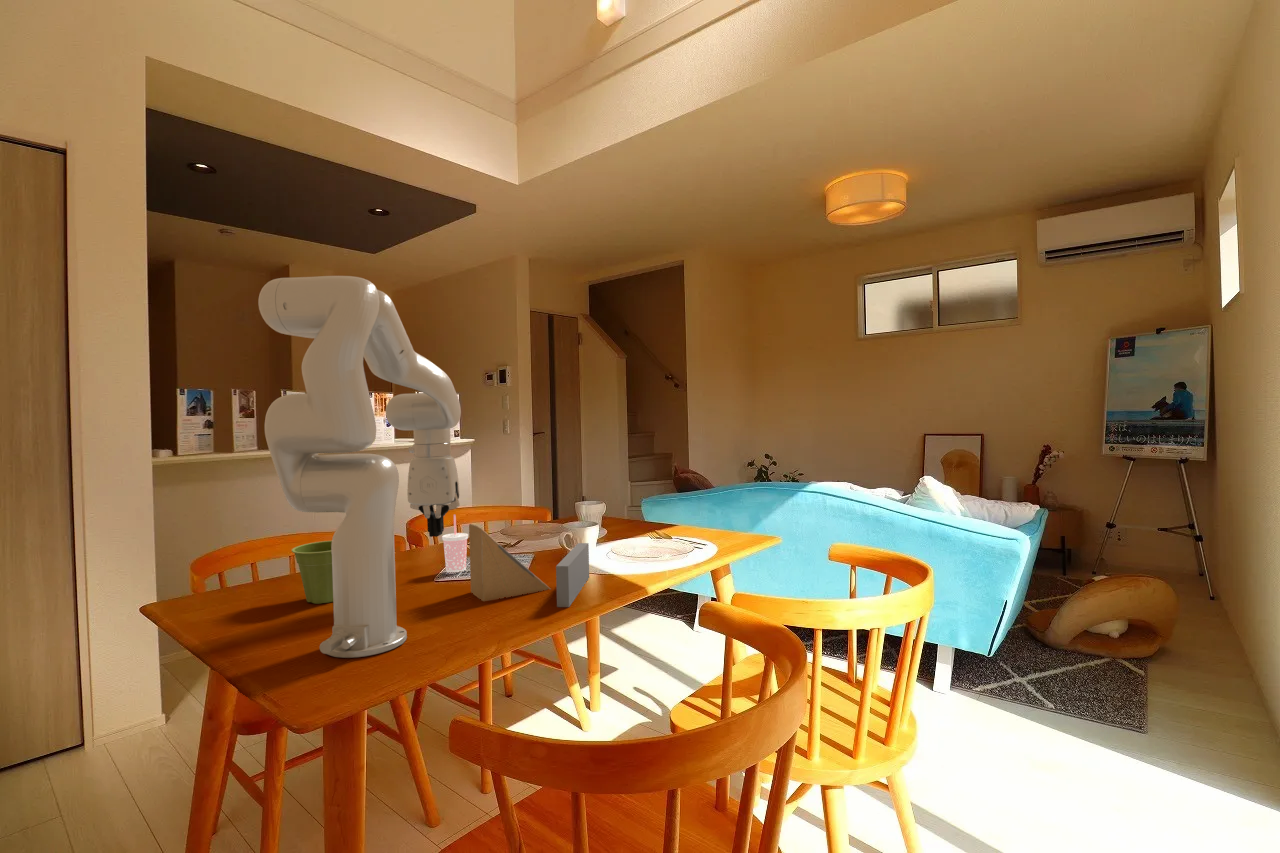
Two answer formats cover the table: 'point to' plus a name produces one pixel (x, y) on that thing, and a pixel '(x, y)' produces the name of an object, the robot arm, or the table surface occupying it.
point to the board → (572, 574)
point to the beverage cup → (455, 550)
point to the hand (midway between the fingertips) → (435, 535)
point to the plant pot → (316, 570)
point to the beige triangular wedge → (497, 569)
